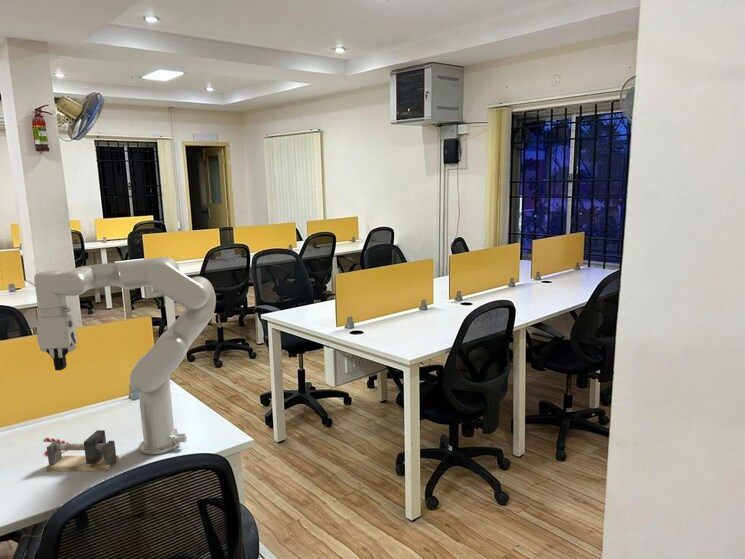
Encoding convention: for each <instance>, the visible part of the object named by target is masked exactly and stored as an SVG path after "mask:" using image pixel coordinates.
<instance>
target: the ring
mask: <svg viewBox="0 0 745 559" xmlns="http://www.w3.org/2000/svg"><path fill="white" fill-rule="evenodd" d="M105 431H106V430H103V429H102V430H101V429H99V430H96V431H95V432H93V433H92V434H91V435H90V436H89V437H87V439H85V440H84V441H83V444H84V449H85V450H84V456H86V464H95V463H96V462H97V461H98V460H99V459H100V458H101V457H102V456H103V455H104V454H103V450H96V444H97V443H107V437H106V432H105Z"/></svg>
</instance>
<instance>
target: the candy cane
mask: <svg viewBox="0 0 745 559" xmlns="http://www.w3.org/2000/svg"><path fill="white" fill-rule="evenodd" d="M43 440H44V442H50V443H53V442H54V441H60V444H70V443H69V442H67V441H66V440H62V439H58V438H51V437H44V439H43ZM68 451H69V450H61V455H62V454H64V453H66V452H68ZM44 455H45V456H47V457H48V454H47V450H46V451H45V452H44Z"/></svg>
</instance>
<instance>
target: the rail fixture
mask: <svg viewBox="0 0 745 559" xmlns="http://www.w3.org/2000/svg"><path fill="white" fill-rule="evenodd" d="M61 450H68V451H85V449H84V443H69V444H60V441H54V442H50V444H49V445H48V446H46V451H47V454H48V456H47V459H48V460H47V461H48V465H47V466H46V467H45V470H46V472H99V471H100V472H102V471H103V472H106V471H107V472H108V471H109V470H110V469H111V468H113V466H114V465H115V464H116V463H117V462H118V461H119V460H120V455H117V451H116V442H115V440H107V441H106V443H97V444H96V450H103V454H104V455H103V456H102V457H101V458H100V459H99V460H98V461H97V462H96V463H95V464H86V456H85V455H62V454H61Z"/></svg>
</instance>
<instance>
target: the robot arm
mask: <svg viewBox="0 0 745 559" xmlns="http://www.w3.org/2000/svg"><path fill="white" fill-rule="evenodd" d="M33 280H34V287H35V296H36V302H37V309H38V310H37V311H38V317H37V321H36V337H37V345H38V347H39V350H40V351H41V352H42V353H43V352H44V353H47V354H49V356H50V358H51V359H52V360H53V367H54V370H55V371H62V370H64V369H67V358H66V357H67V355H68V353H70V352H73V351H76V350H77V347H76V344H77V343H78V336H77V335H78V334H77V332H76V326H75V325H76V324H75V323H74V320H73V317H72V315H71V314H70V313H71V311H72V308H71V307H68V305H67V298H66V296H68V297H77V296H80V295H82V294H83V293H85V292H87V291H89V290H91V289H92V290H93V289H97V288H99V289H100V288H106V287H107V288H108V287H119V288H121V289H125V290H131V289H132V290H133V289H139V288H144V287H145V288H146V287H152V288H153V289H155V290H156V291H158V292H159V293H161V294H162V295H164V296H165V297H167V298H168V299H170V300H172V301H173V302H175V303H177V304H178V305H180V306H182V307H184V310H183V311H182V312H181V314H180V315H179V316H178V317H177V318H176V320H175V321H174V322H173V323H172V324H171V325H170V326H169V328H167V329H166V330H165V331H164V332H163V333H162V334H161V335H160V336H159V338H158V339H157V341H156V342H155V343H154V345H152V347H151V348H150V349H149V350H148V351H147V353H145V354H144V355H142V356H141V357H140V358H139V359H138V360H137V362H136V364H135V366H134V367H133V368H132V370H131V372H130V374H129V382H130V385H131V387H132V388H133V389H134V390H135V392H138V399H139V409H140V419H141V428H142V429H141V430H142V437H143V440H142V441H141V442H140V443H139V444H138V449H139V452H140V453H142V454H144V455H153V456H154V455H160V454H166V453H169V452H171V451H173V450H174V449H176V448H177V447H178V446H179V445H180V444H181V443H186V442H187V437H188V436H186V433H179V432H178V429H177V428H175V425H174V415H173V405H172V392H171V375H172V373H173V372H175V370H176V369H177V368H178V366H180V365H181V363H182V362H183V360H184V359H185V357H186V355H187V353H188V350H189V348H190V347H191V345H193V342H194V341H196V339H197V337H198V336H200V334H201V333H202V332H203V330H204V329H205V328H206V326H207V325H208V324H209V322H210V321H211V319H212V317H213V315H214V312H215V310H216V303H217V300H216V299H217V297H216V293H215V289H214V286H213V285H212V283H211V282H210V280H208V279H207V278H205V277H203V276H194V277H189V276H187V275H186V274H184V273H183V272H181V271H180V267H179V264H178V263H177V262H176V260H175V259H174V258H172V257H168V256H167V257H166V256H163V257H162V256H161V257H154V258H146V259H145V258H144V259H137V260H130V261H129V260H128V261H120V262H119V261H118V262H110V263H99V264H90V265H82V266H78V267H75V268H74V269H71V270H68V271H65V272H61V271H58V270H47V271H46V270H45V271H39V272H37V273H35V275H34V279H33Z"/></svg>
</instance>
